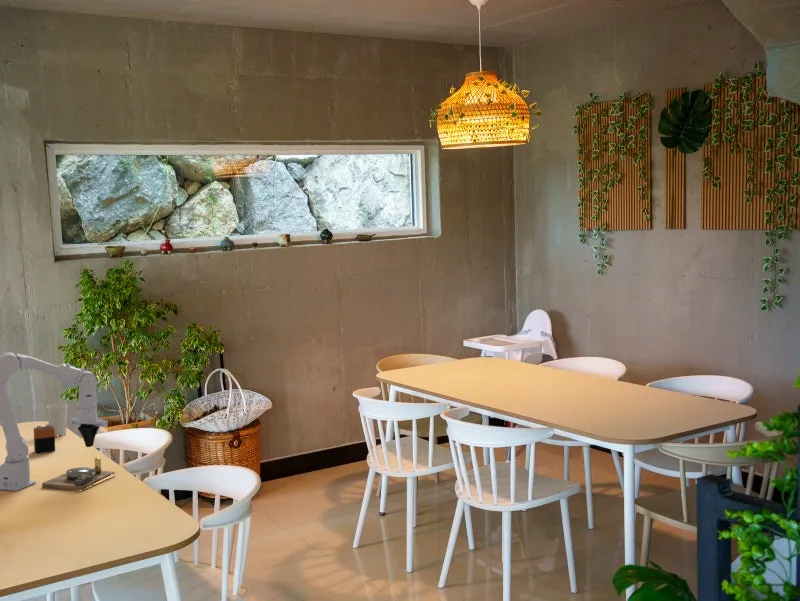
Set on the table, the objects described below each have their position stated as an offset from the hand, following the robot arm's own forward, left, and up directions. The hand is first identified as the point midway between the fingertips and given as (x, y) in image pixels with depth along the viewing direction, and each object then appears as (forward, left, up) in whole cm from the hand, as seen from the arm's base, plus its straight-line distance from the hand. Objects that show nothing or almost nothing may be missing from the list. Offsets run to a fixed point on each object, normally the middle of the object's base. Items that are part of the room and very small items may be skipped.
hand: (89, 446), depth 292 cm
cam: (-5, -1, -9) cm, 10 cm away
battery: (+24, +38, -11) cm, 47 cm away
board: (-6, 0, -11) cm, 12 cm away
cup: (+48, +51, -11) cm, 71 cm away
